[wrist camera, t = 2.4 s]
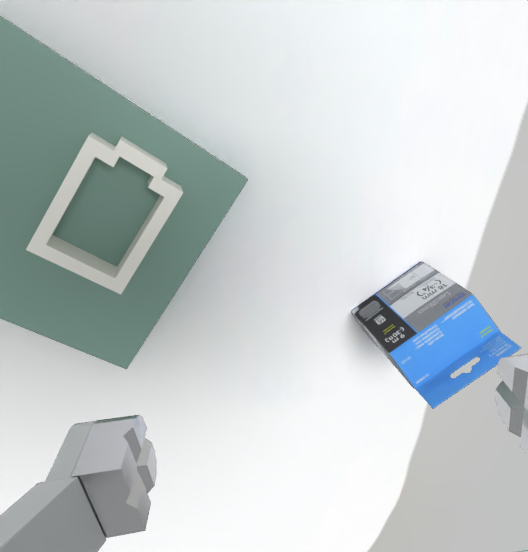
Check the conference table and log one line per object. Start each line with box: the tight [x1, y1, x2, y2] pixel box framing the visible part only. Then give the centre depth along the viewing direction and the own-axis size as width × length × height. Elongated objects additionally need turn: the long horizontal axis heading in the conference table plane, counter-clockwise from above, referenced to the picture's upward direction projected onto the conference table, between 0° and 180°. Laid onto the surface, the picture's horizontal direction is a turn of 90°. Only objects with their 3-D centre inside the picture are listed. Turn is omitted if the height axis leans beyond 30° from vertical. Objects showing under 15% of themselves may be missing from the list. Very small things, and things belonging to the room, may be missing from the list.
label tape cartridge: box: [352, 262, 521, 409], centre depth 42 cm, size 9×4×12 cm, turn 124°
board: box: [0, 16, 248, 369], centre depth 34 cm, size 24×20×4 cm
